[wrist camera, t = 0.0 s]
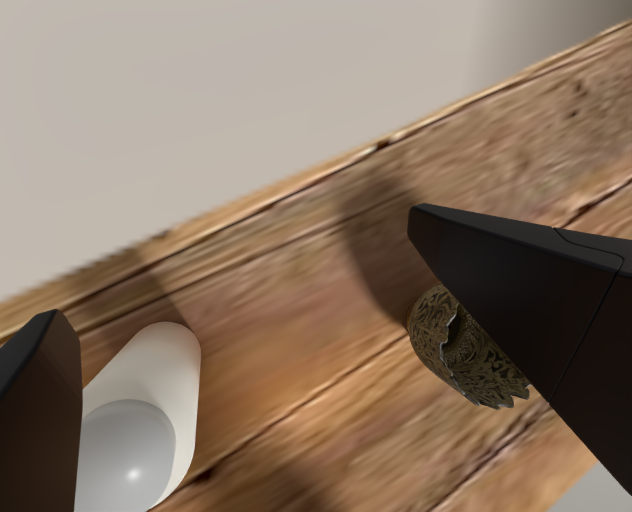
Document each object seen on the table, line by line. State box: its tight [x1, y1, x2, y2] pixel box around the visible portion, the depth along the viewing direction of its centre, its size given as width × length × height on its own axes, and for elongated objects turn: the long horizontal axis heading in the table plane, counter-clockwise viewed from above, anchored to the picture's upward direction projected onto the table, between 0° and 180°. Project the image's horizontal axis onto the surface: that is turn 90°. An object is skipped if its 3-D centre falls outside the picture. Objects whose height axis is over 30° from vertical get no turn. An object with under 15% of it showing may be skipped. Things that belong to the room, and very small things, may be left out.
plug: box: [74, 322, 201, 512], centre depth 16 cm, size 4×4×12 cm
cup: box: [406, 283, 532, 410], centre depth 24 cm, size 8×7×8 cm
